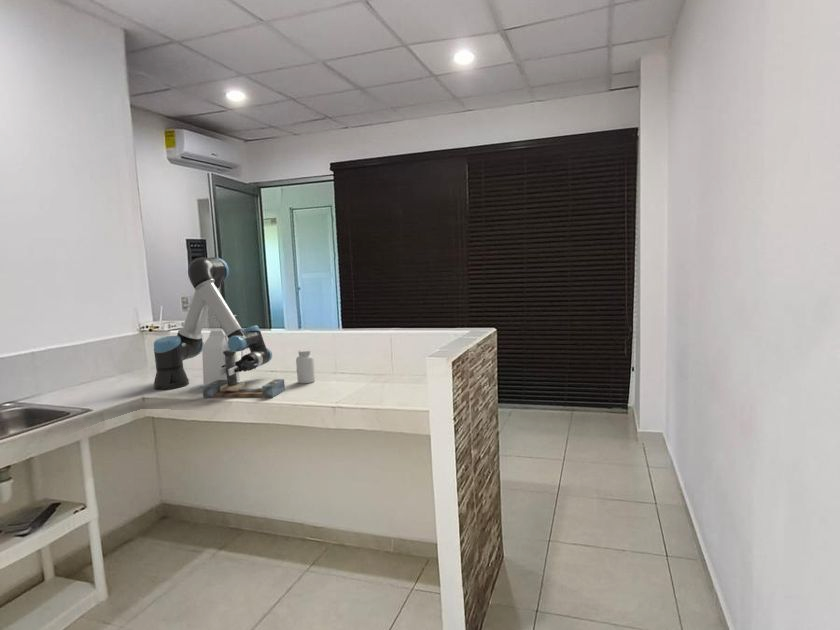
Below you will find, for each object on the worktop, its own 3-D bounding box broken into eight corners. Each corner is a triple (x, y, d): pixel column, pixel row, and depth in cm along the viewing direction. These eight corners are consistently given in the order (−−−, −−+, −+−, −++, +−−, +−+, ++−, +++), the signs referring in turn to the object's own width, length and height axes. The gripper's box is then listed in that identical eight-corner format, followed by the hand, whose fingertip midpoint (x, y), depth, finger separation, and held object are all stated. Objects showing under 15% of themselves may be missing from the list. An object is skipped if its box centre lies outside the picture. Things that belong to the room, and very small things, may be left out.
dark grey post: (220, 392, 219) (216, 352, 217) (230, 387, 227) (226, 349, 225) (235, 392, 218) (231, 352, 216) (244, 387, 226) (241, 349, 224)
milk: (203, 386, 240) (198, 332, 237) (218, 380, 251) (213, 328, 248) (225, 386, 237) (220, 331, 234) (240, 380, 248) (235, 328, 245)
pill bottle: (317, 379, 242) (315, 349, 240) (309, 384, 234) (307, 352, 232) (303, 379, 244) (300, 348, 242) (294, 383, 236) (292, 352, 234)
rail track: (203, 398, 218) (202, 385, 218) (218, 390, 230) (217, 378, 230) (272, 397, 213) (271, 385, 213) (285, 390, 225) (284, 378, 224)
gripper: (268, 368, 238) (243, 380, 215) (235, 369, 241) (206, 381, 218) (267, 353, 237) (242, 363, 214) (233, 353, 240) (205, 364, 217)
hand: (224, 372), depth 216 cm, fingers closed on dark grey post, 4 cm apart
